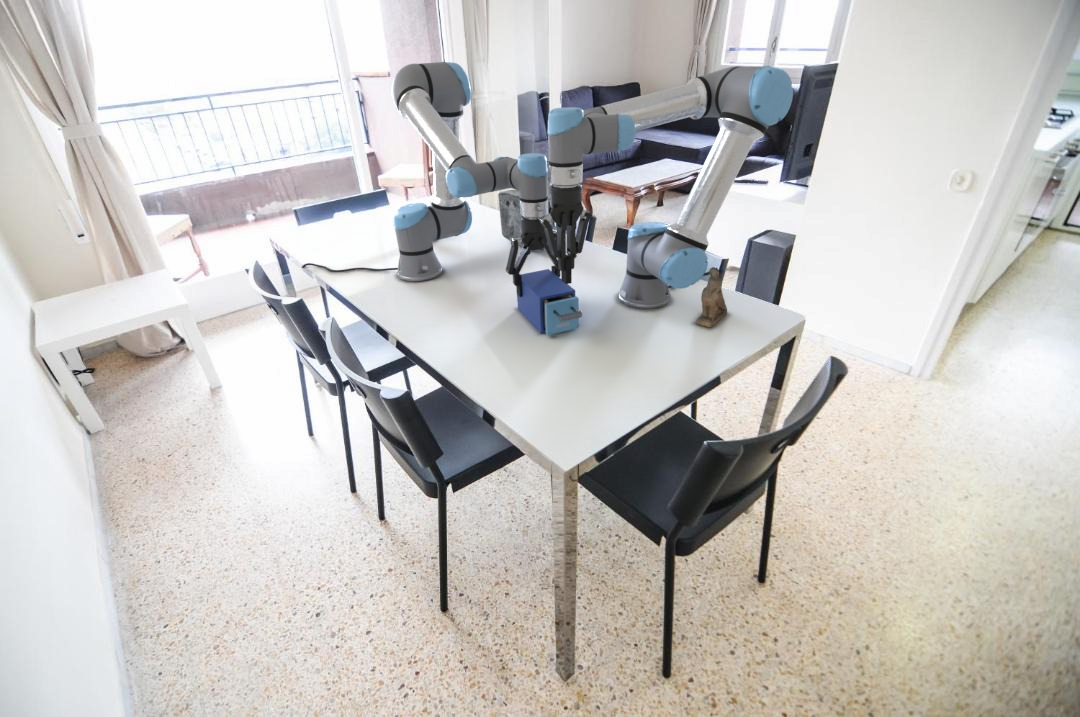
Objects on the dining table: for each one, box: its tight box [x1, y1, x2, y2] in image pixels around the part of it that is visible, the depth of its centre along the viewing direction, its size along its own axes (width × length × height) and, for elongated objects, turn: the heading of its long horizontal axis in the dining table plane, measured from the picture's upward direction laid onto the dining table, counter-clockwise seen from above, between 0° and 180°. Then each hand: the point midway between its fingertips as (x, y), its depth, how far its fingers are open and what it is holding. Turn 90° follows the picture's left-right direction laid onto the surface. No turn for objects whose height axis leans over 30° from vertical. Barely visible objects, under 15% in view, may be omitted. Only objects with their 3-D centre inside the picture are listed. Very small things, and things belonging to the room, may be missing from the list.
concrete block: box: [497, 189, 554, 252], centre depth 191 cm, size 27×9×20 cm, turn 36°
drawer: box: [543, 294, 583, 336], centre depth 136 cm, size 22×9×9 cm, turn 23°
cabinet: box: [516, 268, 576, 334], centre depth 141 cm, size 18×10×11 cm, turn 23°
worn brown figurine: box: [695, 266, 728, 328], centre depth 135 cm, size 12×6×18 cm, turn 136°
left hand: (537, 291), depth 145 cm, fingers closed on cabinet, 10 cm apart
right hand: (566, 281), depth 124 cm, fingers closed
